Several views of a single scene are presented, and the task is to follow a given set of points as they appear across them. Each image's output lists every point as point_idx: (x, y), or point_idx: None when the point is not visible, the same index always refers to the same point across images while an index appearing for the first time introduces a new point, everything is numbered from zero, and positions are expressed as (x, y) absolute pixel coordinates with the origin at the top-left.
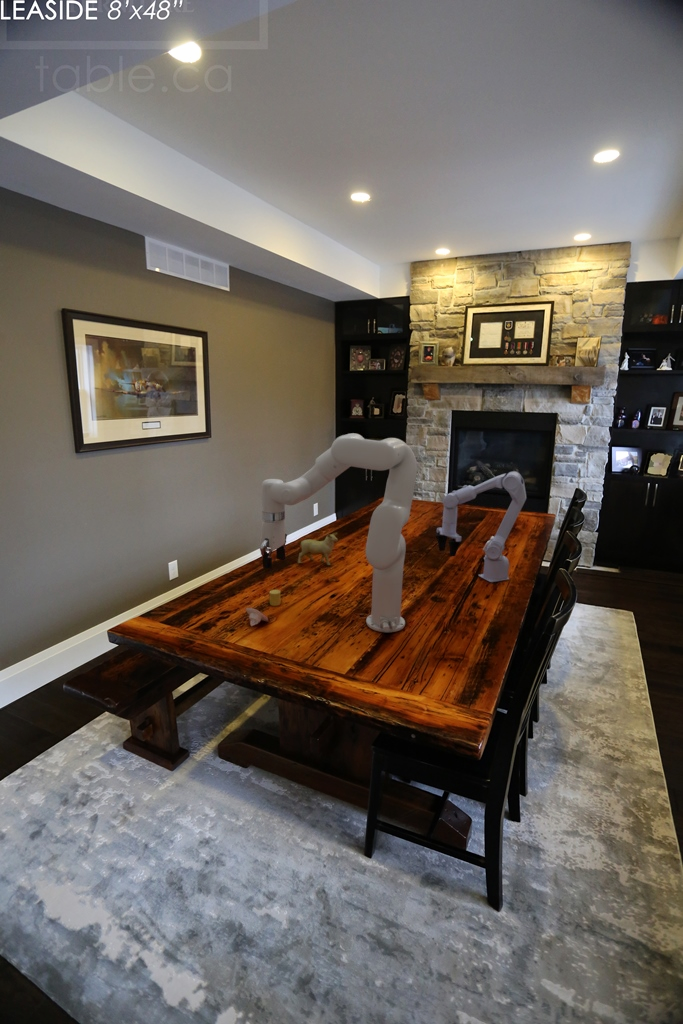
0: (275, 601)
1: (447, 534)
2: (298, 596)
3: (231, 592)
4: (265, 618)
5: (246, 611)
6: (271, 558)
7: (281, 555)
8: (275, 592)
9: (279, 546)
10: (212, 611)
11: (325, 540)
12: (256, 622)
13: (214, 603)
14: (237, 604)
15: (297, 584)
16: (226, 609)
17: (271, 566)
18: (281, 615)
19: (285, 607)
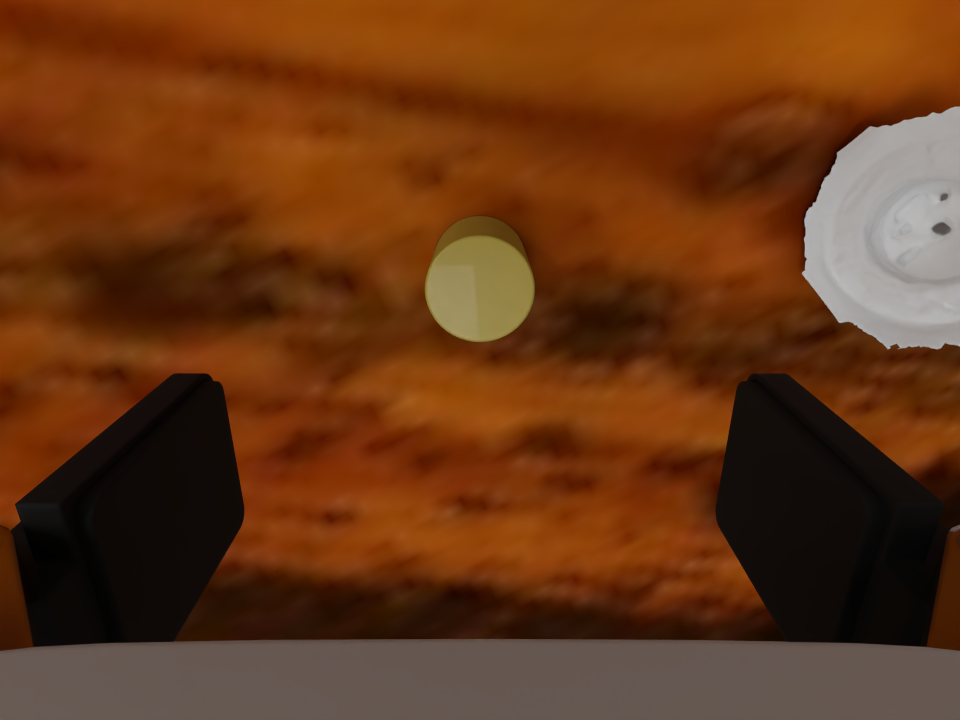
0: (521, 245)
1: None
2: (248, 136)
3: (434, 621)
4: (935, 135)
5: (950, 323)
6: (896, 489)
7: (189, 473)
8: (494, 277)
9: (468, 665)
10: (746, 577)
11: None
12: (946, 199)
13: (631, 623)
14: (597, 500)
15: (22, 270)
16: (694, 522)
17: (787, 388)
18: (679, 93)
19: (515, 139)
